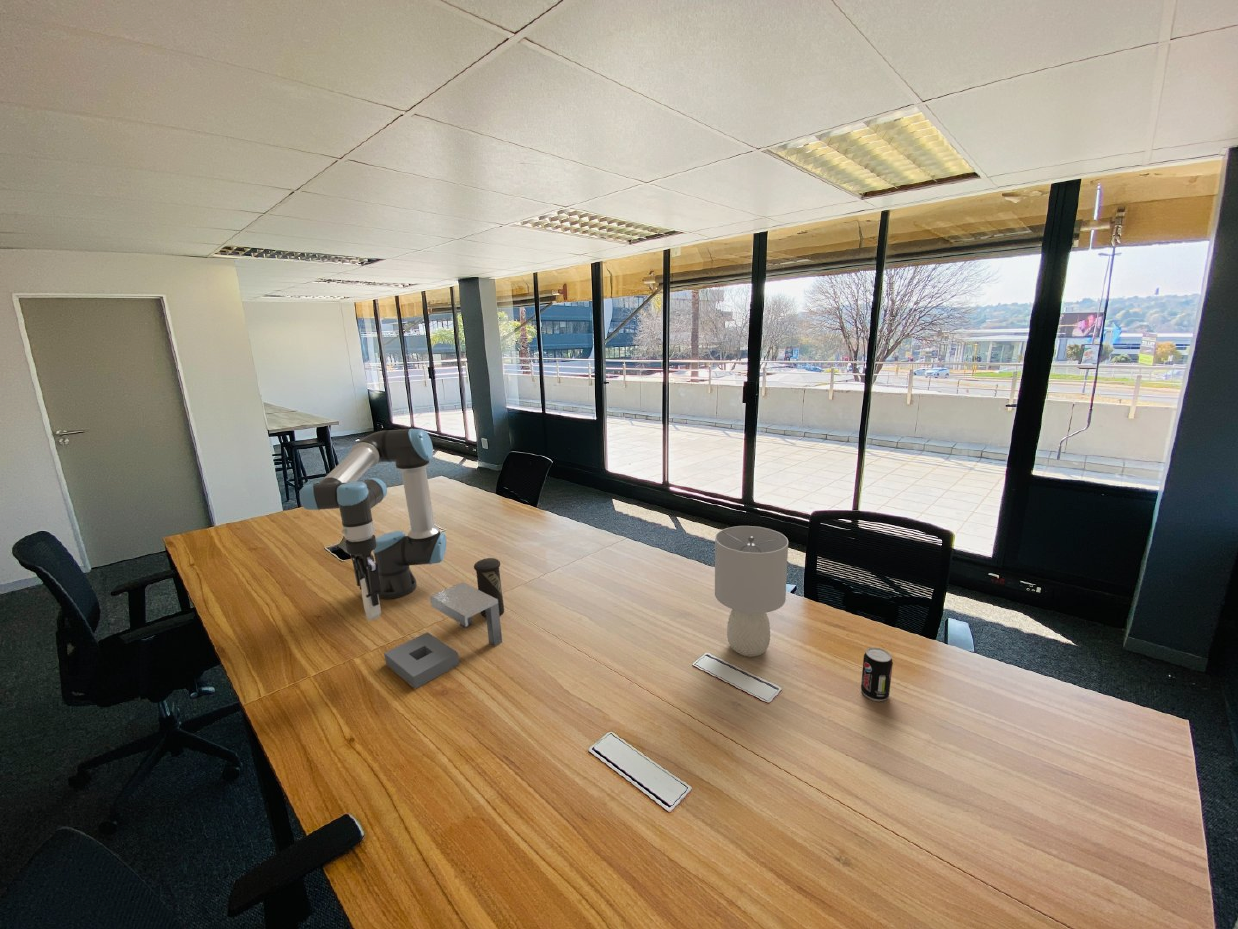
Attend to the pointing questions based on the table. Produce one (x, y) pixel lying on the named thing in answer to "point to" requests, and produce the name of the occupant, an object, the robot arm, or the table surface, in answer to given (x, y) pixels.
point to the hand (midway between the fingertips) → (372, 612)
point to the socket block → (421, 659)
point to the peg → (366, 604)
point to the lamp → (750, 583)
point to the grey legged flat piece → (469, 608)
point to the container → (490, 580)
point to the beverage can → (876, 674)
